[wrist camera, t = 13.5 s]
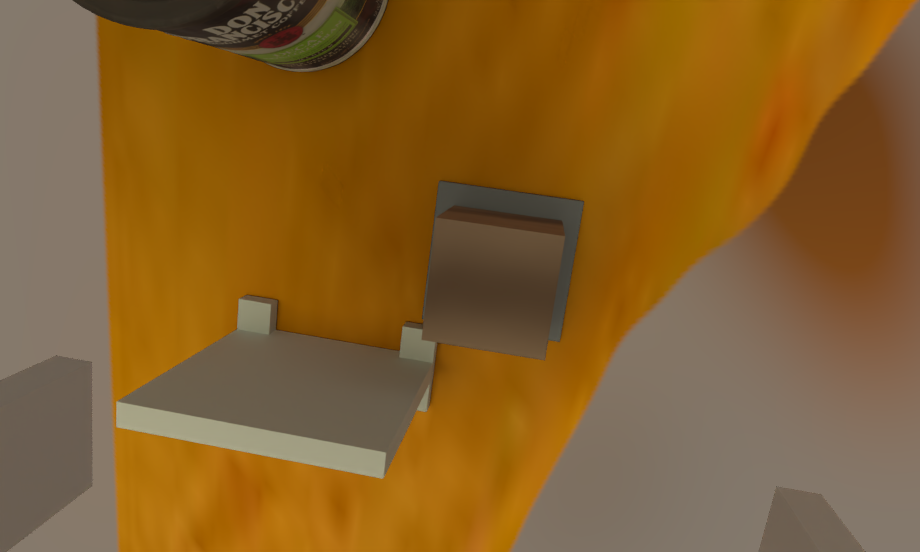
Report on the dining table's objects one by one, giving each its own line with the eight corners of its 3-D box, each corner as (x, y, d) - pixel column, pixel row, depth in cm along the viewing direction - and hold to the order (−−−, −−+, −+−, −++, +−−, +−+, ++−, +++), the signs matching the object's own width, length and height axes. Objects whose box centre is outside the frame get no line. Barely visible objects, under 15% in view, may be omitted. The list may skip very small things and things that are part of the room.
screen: (246, 294, 39) (117, 360, 27) (439, 327, 37) (391, 410, 26) (242, 371, 40) (115, 466, 28) (429, 405, 38) (378, 518, 27)
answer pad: (440, 180, 36) (438, 181, 35) (583, 201, 35) (583, 201, 34) (423, 316, 37) (422, 319, 37) (559, 338, 37) (559, 341, 36)
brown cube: (454, 205, 35) (435, 217, 29) (562, 220, 35) (565, 236, 29) (440, 312, 37) (420, 344, 31) (544, 328, 36) (544, 364, 30)
